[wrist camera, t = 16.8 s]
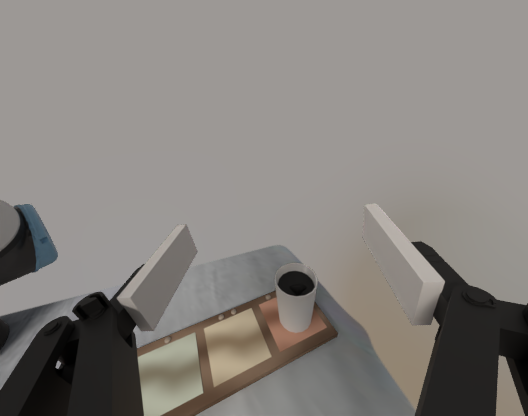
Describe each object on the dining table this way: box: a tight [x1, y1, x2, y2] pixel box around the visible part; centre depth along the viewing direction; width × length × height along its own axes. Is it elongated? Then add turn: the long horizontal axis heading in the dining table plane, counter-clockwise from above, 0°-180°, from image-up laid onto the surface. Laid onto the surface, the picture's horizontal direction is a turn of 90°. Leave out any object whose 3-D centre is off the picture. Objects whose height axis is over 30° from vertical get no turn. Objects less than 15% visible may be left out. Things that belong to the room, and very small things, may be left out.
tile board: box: [137, 291, 338, 416], centre depth 34 cm, size 12×32×1 cm, turn 113°
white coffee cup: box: [275, 263, 318, 333], centre depth 34 cm, size 7×7×10 cm
